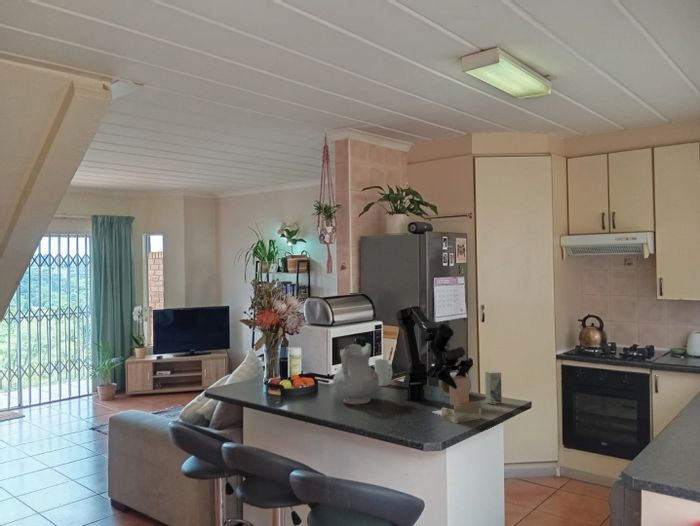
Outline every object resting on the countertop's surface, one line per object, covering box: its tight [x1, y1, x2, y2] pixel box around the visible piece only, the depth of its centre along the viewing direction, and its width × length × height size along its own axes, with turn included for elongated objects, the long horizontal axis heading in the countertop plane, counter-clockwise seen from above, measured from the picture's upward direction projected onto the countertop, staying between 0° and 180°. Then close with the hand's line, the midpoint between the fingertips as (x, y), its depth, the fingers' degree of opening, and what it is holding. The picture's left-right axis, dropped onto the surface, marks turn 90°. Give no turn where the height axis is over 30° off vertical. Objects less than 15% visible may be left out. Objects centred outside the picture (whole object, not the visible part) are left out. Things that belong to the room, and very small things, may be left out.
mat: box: [431, 408, 452, 417], centre depth 209 cm, size 8×8×1 cm
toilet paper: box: [437, 371, 472, 397], centre depth 239 cm, size 10×10×10 cm
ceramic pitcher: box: [332, 342, 379, 405], centre depth 232 cm, size 22×20×25 cm
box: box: [484, 370, 503, 405], centre depth 223 cm, size 5×4×13 cm
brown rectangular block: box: [449, 376, 470, 407], centre depth 202 cm, size 5×5×10 cm
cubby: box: [441, 400, 482, 424], centre depth 201 cm, size 8×12×6 cm, turn 120°
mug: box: [374, 358, 393, 387], centre depth 265 cm, size 10×7×12 cm, turn 45°
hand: (461, 387), depth 201 cm, fingers closed on brown rectangular block, 5 cm apart
